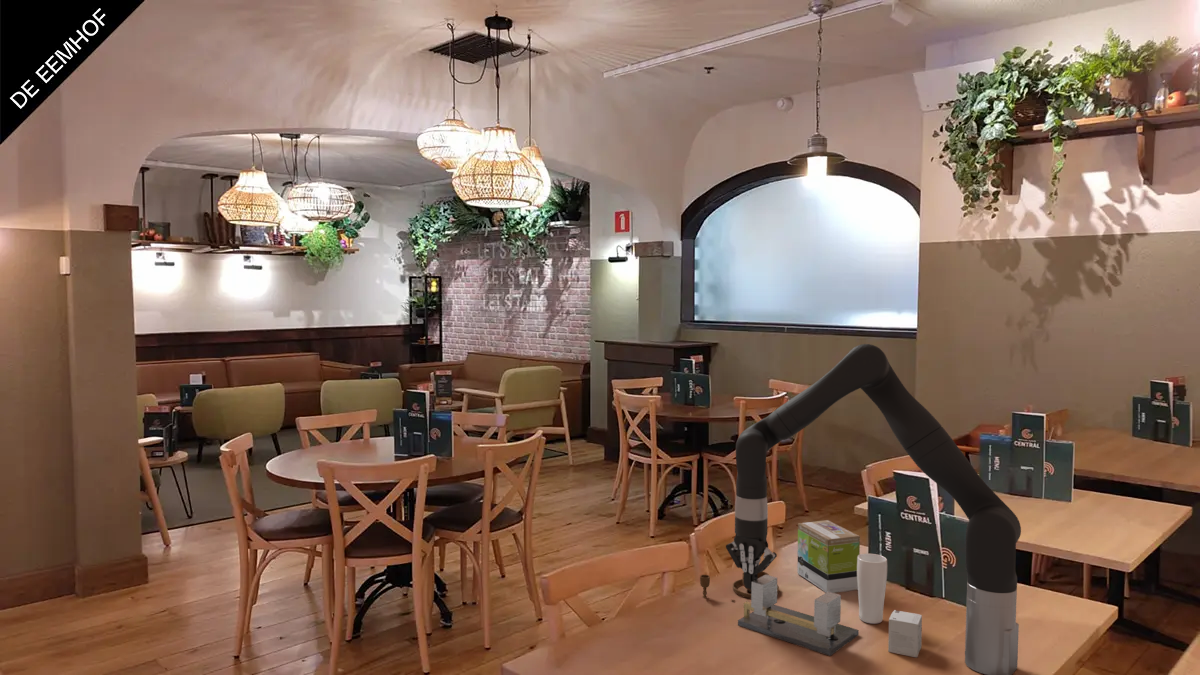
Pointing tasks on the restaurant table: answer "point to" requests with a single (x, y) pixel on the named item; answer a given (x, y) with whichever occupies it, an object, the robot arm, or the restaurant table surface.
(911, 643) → the skincare box
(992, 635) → the robot arm
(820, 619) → the beam
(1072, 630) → the restaurant table surface
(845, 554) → the tea box
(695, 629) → the restaurant table surface
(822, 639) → the bolt-hole plate
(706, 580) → the place setting
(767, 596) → the block
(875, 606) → the drinking glass
